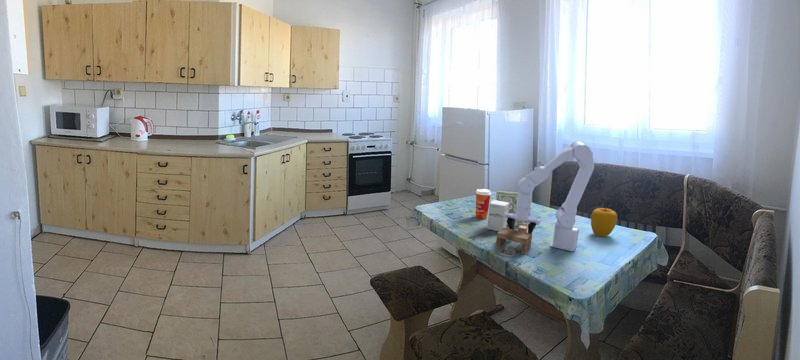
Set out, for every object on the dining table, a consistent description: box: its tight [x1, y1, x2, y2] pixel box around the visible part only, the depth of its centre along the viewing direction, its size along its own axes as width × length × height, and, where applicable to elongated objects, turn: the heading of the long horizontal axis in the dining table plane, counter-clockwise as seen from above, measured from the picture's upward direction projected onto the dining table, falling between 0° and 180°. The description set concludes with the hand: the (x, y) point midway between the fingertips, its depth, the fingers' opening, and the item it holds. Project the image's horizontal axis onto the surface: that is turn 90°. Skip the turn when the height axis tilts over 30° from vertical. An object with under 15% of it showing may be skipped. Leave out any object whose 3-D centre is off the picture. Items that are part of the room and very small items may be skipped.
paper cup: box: [475, 188, 492, 221], centre depth 222 cm, size 8×8×14 cm
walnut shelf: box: [495, 227, 533, 255], centre depth 185 cm, size 12×8×6 cm, turn 59°
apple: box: [590, 207, 618, 238], centre depth 204 cm, size 11×11×13 cm
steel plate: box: [498, 248, 516, 258], centre depth 179 cm, size 5×5×1 cm
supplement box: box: [486, 199, 510, 232], centre depth 207 cm, size 7×7×13 cm
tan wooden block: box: [505, 225, 528, 252], centre depth 188 cm, size 3×18×6 cm, turn 149°
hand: (520, 237), depth 192 cm, fingers open, 7 cm apart
